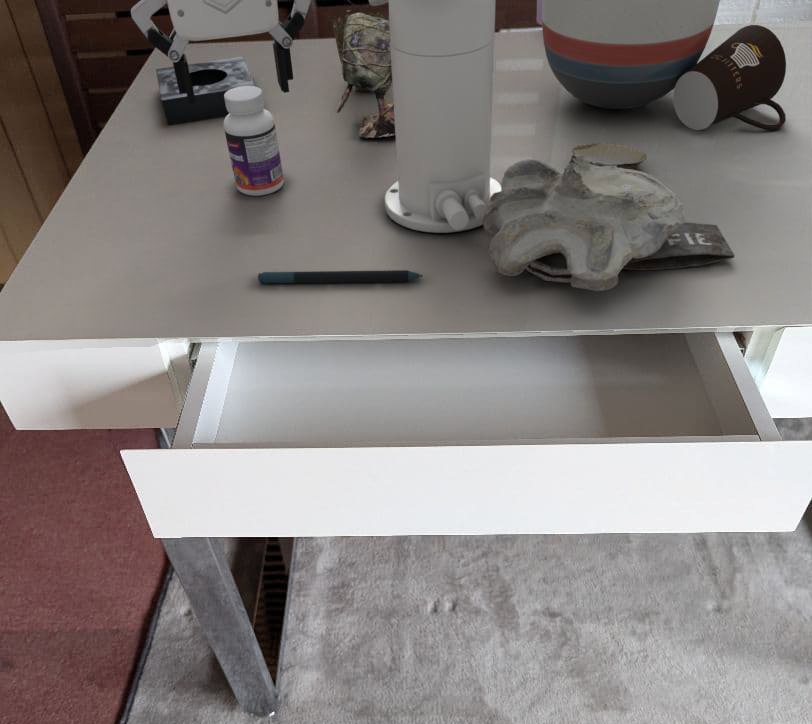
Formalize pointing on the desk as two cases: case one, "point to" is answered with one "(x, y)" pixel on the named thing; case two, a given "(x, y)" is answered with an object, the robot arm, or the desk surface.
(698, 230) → the dark snack bar packet
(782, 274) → the desk surface
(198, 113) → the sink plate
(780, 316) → the desk surface
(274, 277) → the pen
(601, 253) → the fossil
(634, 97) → the planter
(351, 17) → the plant with pod
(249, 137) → the pill bottle
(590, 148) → the seashell
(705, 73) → the coffee mug
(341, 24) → the green rounded lump
